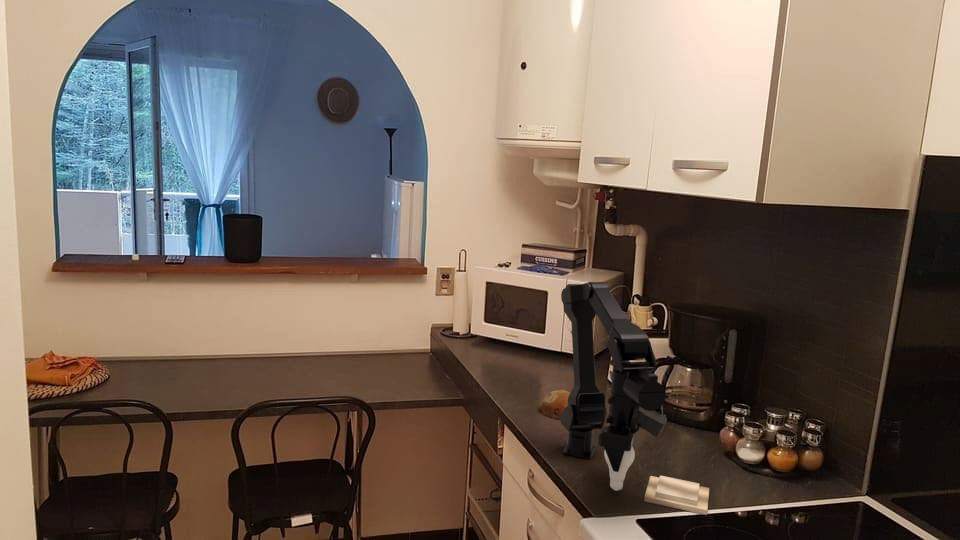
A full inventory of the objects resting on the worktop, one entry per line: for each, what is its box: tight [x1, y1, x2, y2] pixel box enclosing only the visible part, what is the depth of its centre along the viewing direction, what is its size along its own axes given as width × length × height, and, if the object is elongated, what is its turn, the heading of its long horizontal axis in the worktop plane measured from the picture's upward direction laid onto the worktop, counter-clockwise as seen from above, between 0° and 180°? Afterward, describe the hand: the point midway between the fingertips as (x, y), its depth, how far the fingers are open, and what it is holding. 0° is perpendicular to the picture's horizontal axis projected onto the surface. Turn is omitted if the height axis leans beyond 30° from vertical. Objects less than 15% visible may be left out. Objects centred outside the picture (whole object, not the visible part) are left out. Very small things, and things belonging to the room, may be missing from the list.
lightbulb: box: [603, 446, 636, 492], centre depth 138 cm, size 6×6×11 cm
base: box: [643, 475, 710, 516], centre depth 138 cm, size 10×12×2 cm
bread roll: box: [540, 389, 571, 421], centre depth 180 cm, size 10×10×8 cm
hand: (618, 465), depth 138 cm, fingers closed on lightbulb, 6 cm apart
